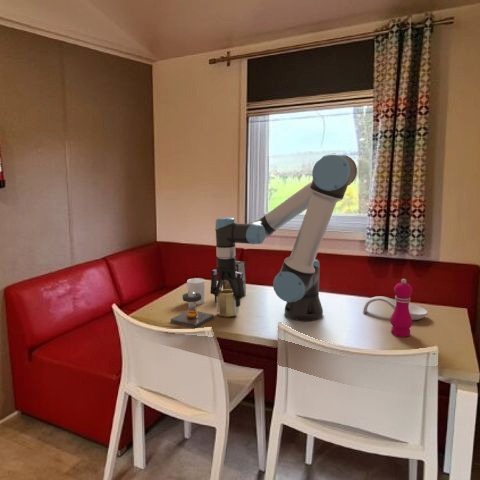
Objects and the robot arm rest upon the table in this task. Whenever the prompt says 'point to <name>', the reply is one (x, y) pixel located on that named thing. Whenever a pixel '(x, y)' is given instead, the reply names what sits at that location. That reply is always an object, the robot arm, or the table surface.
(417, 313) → the white curved piece
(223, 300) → the sleeve
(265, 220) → the robot arm
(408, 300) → the pepper mill
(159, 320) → the table surface
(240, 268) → the coffee box
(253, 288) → the table surface
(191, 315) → the pipe stand
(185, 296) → the ring
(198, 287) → the white cup
